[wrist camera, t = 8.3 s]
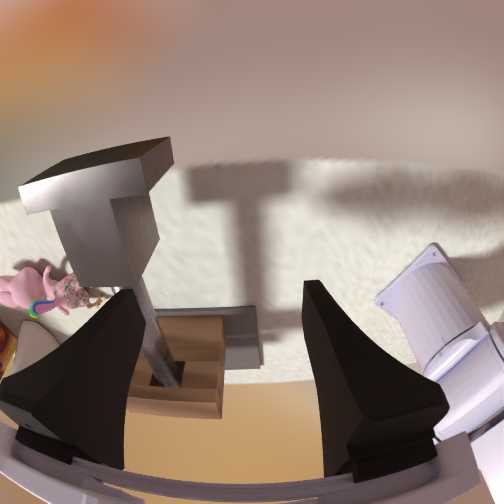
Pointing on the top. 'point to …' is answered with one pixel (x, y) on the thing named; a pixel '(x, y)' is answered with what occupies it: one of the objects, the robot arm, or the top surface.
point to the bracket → (185, 370)
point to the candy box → (6, 348)
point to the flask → (32, 345)
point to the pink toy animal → (43, 292)
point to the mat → (231, 333)
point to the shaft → (110, 226)
